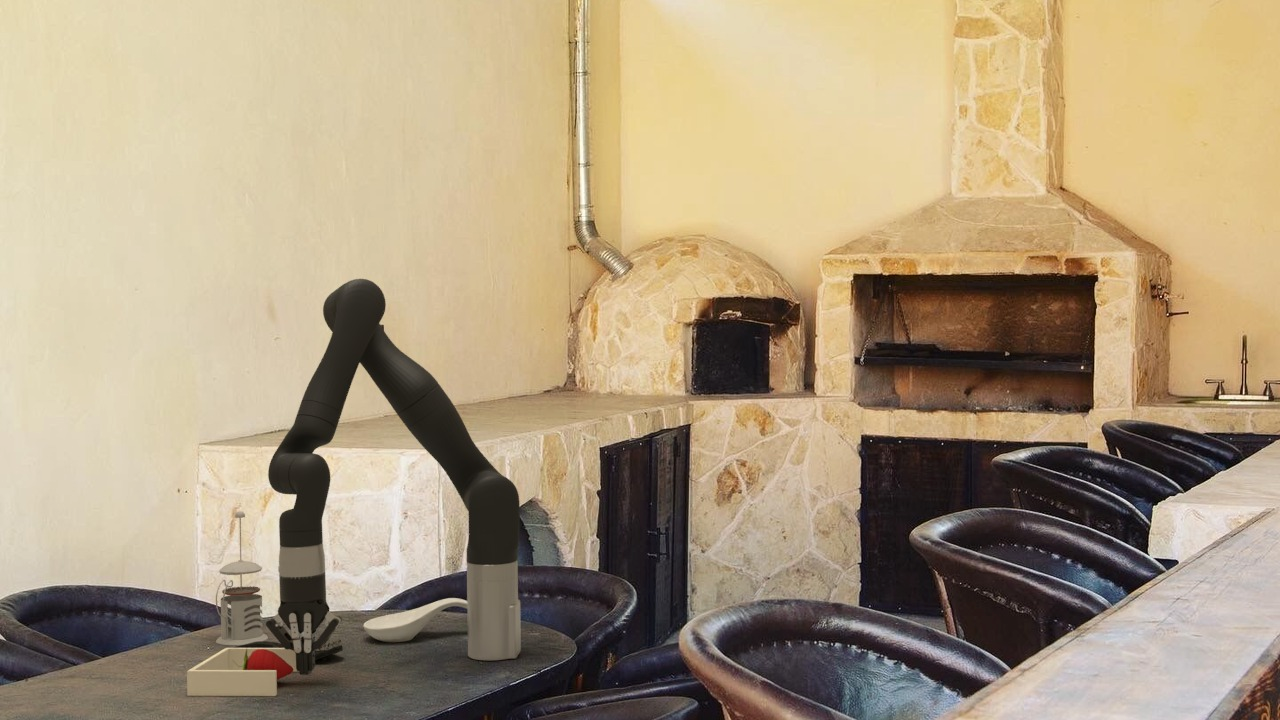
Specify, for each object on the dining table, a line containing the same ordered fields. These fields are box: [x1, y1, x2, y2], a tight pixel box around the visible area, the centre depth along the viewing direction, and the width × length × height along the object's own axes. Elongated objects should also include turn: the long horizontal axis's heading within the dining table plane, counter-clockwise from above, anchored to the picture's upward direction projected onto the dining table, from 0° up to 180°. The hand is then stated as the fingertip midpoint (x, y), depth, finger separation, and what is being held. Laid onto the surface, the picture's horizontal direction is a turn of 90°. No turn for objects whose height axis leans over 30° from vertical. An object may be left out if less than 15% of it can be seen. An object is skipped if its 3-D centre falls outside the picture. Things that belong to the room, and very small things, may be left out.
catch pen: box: [186, 647, 300, 697], centre depth 220 cm, size 15×17×4 cm
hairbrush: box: [232, 639, 344, 661], centre depth 240 cm, size 8×4×25 cm
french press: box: [215, 511, 269, 646], centre depth 253 cm, size 10×12×25 cm
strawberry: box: [235, 649, 294, 681], centre depth 218 cm, size 6×8×10 cm
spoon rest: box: [363, 597, 467, 643], centre depth 254 cm, size 24×12×7 cm, turn 107°
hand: (305, 673), depth 220 cm, fingers closed
